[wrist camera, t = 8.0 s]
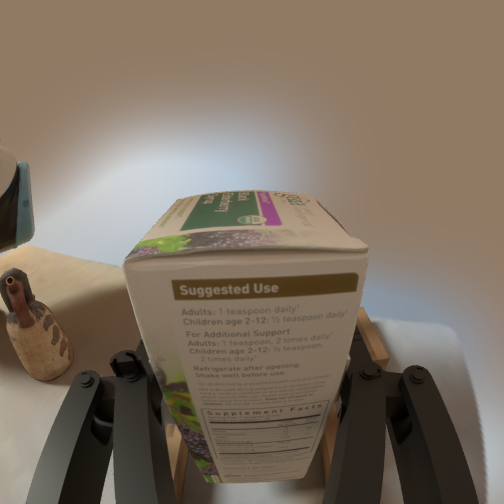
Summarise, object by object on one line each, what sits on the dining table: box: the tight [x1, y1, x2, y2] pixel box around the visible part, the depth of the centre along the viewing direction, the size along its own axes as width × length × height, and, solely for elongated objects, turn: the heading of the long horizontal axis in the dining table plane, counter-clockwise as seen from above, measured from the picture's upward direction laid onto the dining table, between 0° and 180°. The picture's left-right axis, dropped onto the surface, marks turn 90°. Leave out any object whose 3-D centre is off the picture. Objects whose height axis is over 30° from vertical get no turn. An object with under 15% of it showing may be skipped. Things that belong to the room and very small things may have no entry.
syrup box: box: [123, 190, 369, 483], centre depth 11 cm, size 6×6×14 cm
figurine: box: [0, 268, 73, 381], centre depth 21 cm, size 7×7×12 cm
